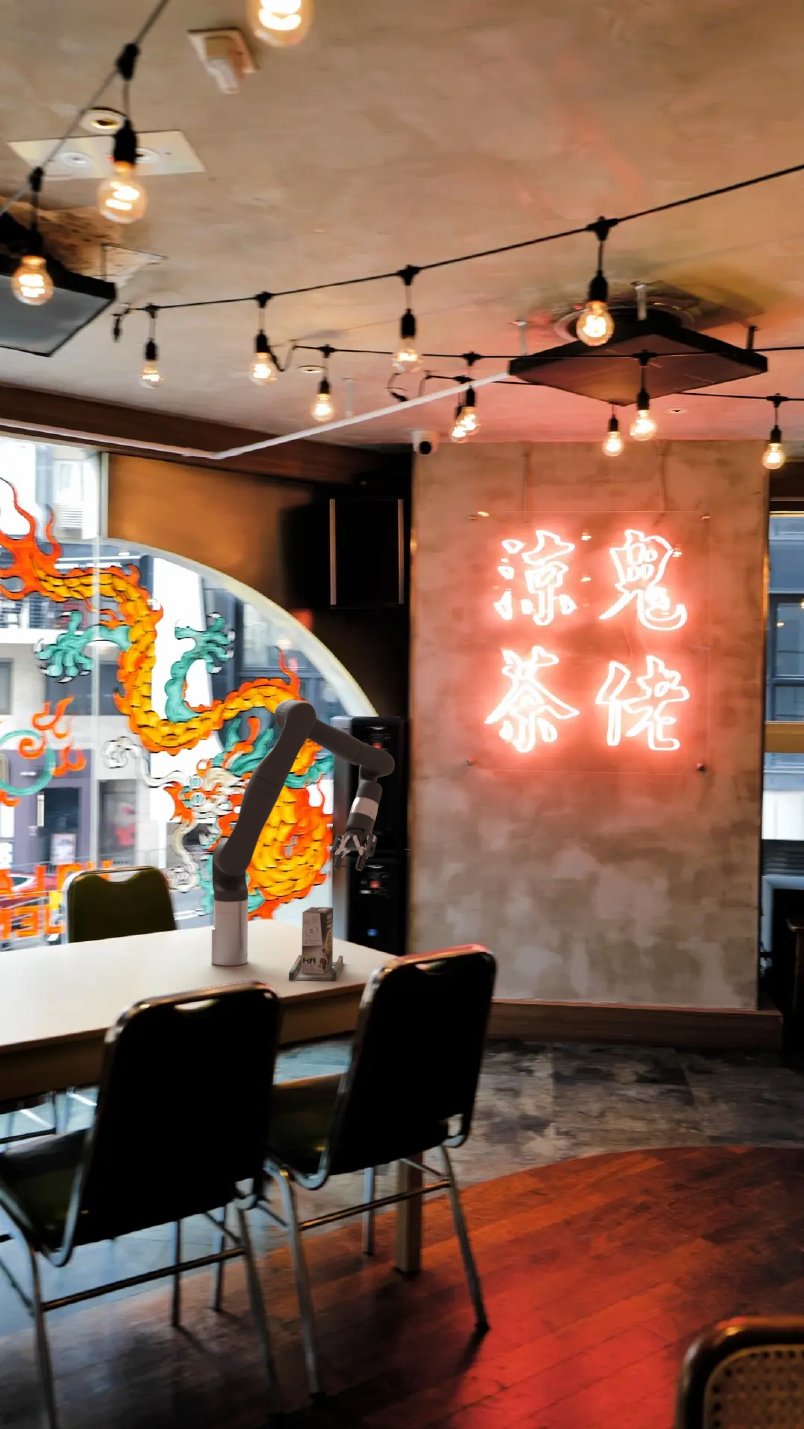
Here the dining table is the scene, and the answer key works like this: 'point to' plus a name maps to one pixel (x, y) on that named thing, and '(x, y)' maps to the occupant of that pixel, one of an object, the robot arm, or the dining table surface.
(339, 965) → the lane frame
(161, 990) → the dining table surface
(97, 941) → the dining table surface
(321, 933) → the coffee box
